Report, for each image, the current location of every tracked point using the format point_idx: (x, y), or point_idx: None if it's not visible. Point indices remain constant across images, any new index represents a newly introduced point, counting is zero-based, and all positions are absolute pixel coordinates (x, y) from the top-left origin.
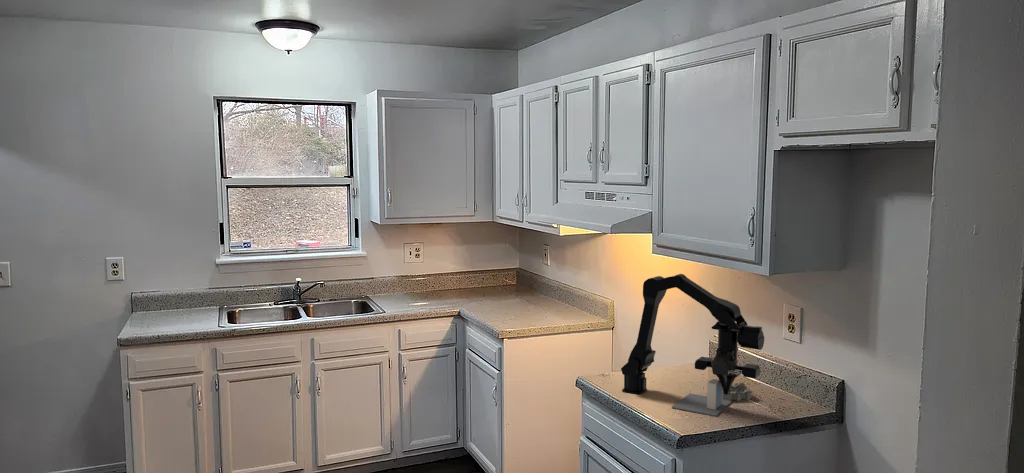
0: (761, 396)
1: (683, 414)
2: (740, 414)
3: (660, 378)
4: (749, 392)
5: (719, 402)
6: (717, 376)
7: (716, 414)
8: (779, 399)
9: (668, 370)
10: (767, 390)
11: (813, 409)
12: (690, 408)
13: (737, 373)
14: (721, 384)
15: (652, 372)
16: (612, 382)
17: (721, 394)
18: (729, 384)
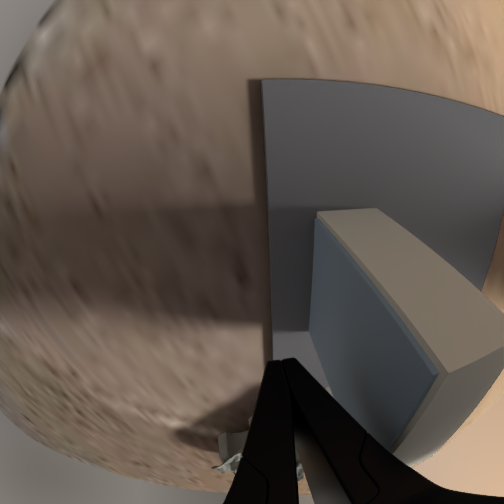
0: (201, 461)
1: (449, 37)
2: (131, 250)
3: (497, 379)
4: (222, 462)
5: (319, 305)
6: (465, 494)
7: (268, 100)
8: (141, 460)
9: (468, 421)
10: (214, 483)
11: (27, 424)
12: (454, 140)
13: None
14: (361, 430)
15: (501, 390)
16: None
17: (329, 373)
18: (246, 469)
